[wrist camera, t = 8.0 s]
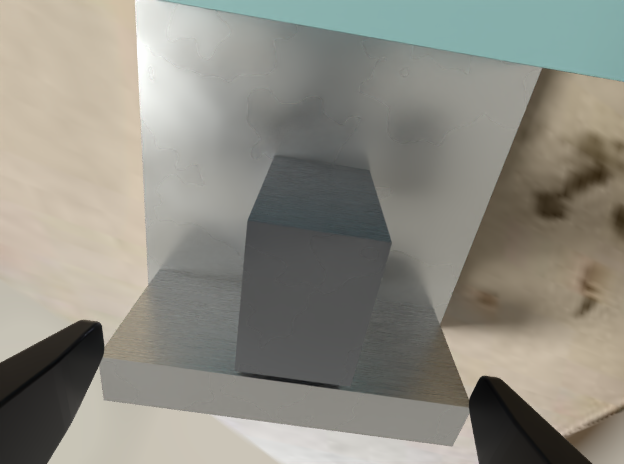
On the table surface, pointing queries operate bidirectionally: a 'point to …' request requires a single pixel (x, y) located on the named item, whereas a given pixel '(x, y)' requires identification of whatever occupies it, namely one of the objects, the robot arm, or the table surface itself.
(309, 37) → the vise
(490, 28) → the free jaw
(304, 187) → the steel block
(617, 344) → the table surface
